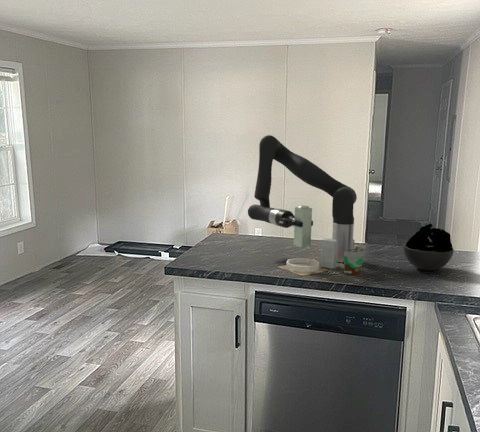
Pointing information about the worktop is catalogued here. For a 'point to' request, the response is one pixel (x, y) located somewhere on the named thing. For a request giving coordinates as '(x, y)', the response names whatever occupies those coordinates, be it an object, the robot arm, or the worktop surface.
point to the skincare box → (329, 253)
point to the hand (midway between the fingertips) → (307, 224)
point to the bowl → (302, 265)
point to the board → (302, 273)
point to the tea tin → (303, 233)
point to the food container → (353, 261)
